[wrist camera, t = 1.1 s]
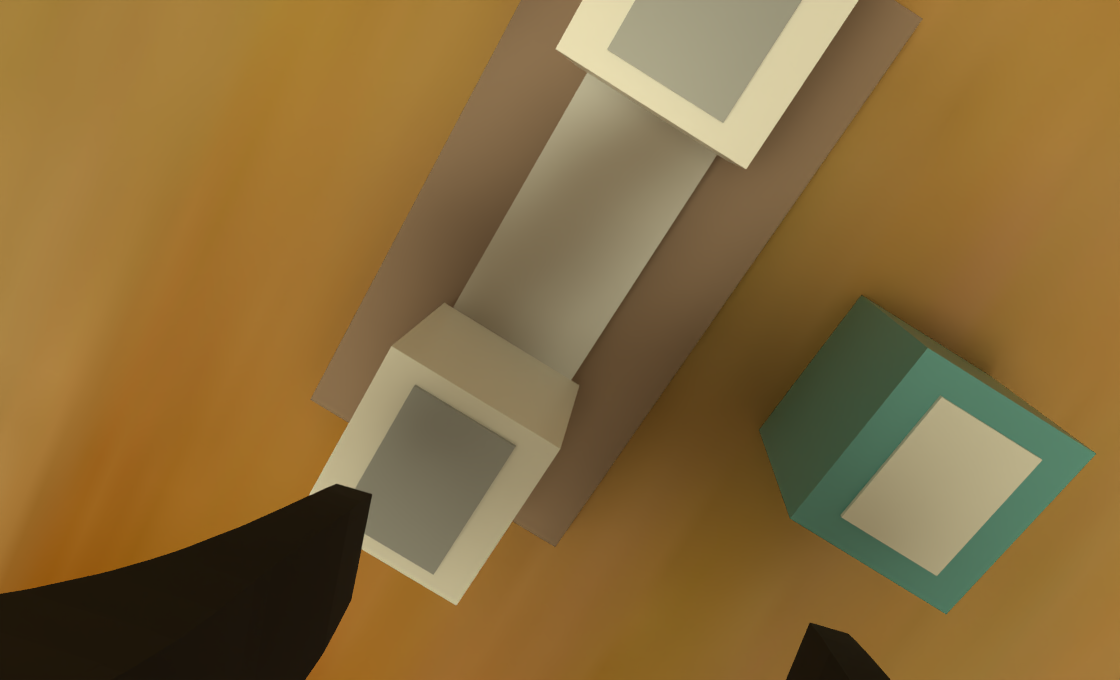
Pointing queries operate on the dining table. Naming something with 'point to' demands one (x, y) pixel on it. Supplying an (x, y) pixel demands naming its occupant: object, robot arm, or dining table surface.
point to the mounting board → (595, 231)
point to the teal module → (913, 456)
